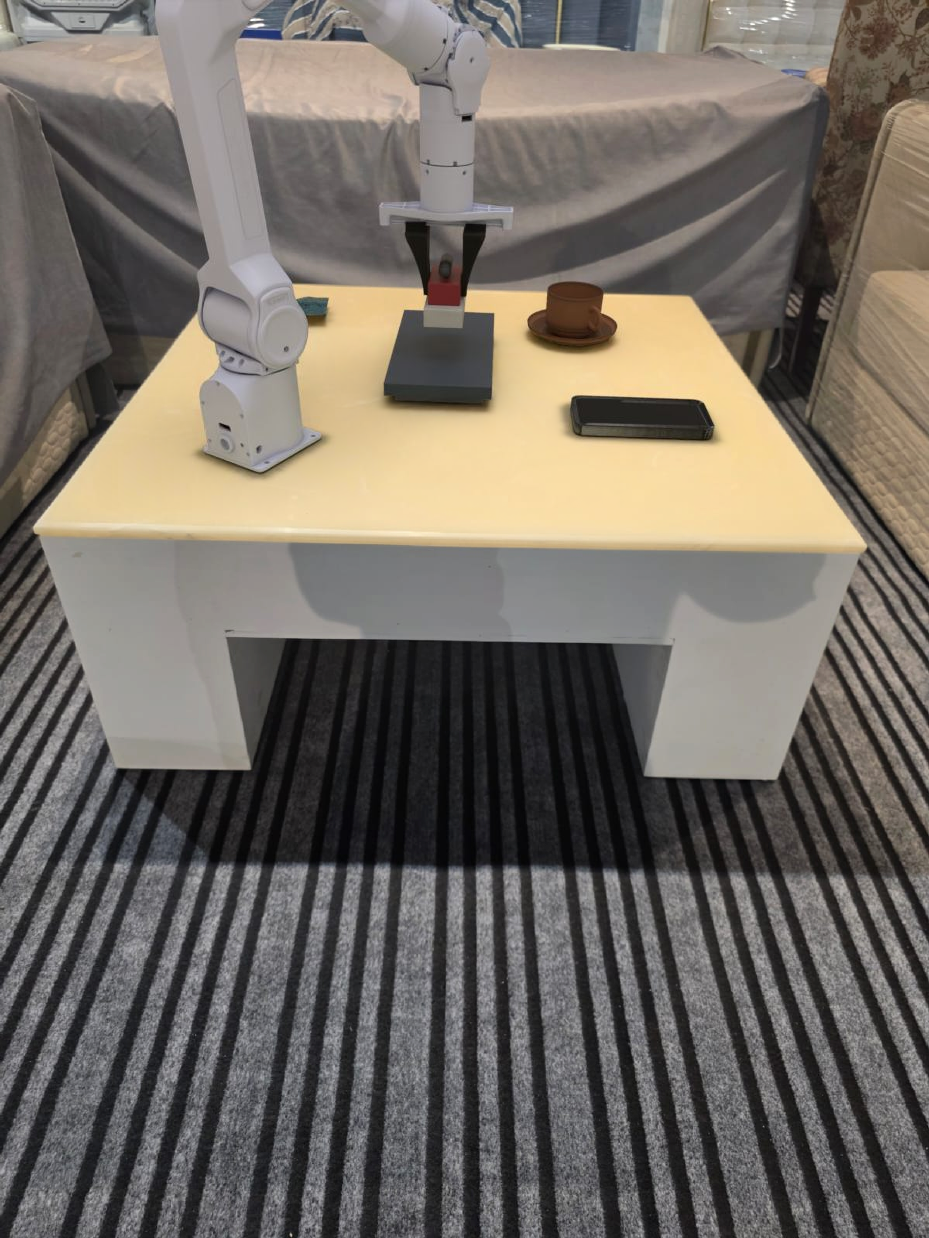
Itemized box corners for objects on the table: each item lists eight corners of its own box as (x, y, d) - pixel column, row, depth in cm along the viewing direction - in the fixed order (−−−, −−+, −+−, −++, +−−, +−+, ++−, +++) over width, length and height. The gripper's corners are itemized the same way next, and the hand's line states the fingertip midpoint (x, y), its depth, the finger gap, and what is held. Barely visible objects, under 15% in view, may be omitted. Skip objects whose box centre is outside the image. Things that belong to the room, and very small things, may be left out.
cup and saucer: (632, 337, 113) (639, 290, 109) (581, 361, 106) (587, 312, 102) (561, 315, 119) (565, 270, 115) (508, 336, 112) (510, 289, 108)
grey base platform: (490, 412, 94) (492, 387, 92) (384, 408, 94) (383, 383, 92) (493, 335, 112) (494, 312, 111) (404, 332, 113) (404, 309, 111)
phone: (716, 430, 89) (575, 425, 89) (714, 440, 90) (574, 434, 90) (702, 399, 95) (570, 394, 95) (700, 408, 96) (569, 403, 96)
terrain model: (232, 327, 112) (230, 312, 111) (238, 310, 118) (236, 296, 117) (329, 325, 113) (328, 311, 112) (329, 309, 120) (328, 295, 118)
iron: (462, 328, 94) (463, 271, 91) (423, 327, 95) (423, 270, 91) (465, 302, 102) (466, 248, 98) (429, 301, 102) (429, 247, 98)
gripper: (515, 156, 91) (508, 284, 100) (382, 151, 91) (387, 280, 100) (516, 170, 85) (508, 304, 94) (374, 165, 86) (380, 299, 94)
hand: (445, 293), depth 97 cm, fingers closed on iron, 3 cm apart
